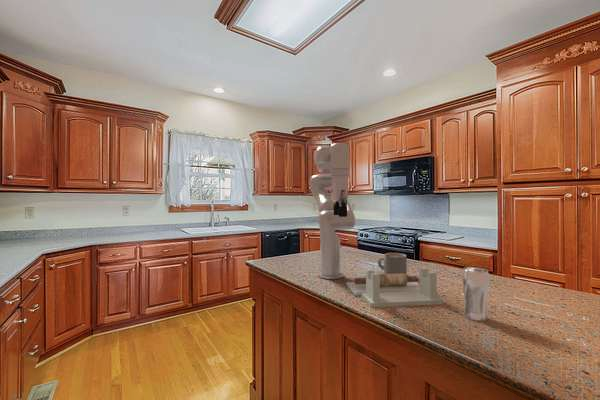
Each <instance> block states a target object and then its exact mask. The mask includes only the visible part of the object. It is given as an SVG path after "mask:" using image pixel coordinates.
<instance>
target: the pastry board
mask: <svg viewBox="0 0 600 400" xmlns="http://www.w3.org/2000/svg"><path fill="white" fill-rule="evenodd" d="M345 285H346V286H347V287H348V289H349V290H350V291H351V292H352V294H353V295H354V296H355V297H359V296H360V297H362V293H366V284H355V282H354V281H346V284H345ZM400 291H419V282H418V281H417V282H407V285H405V286H380V292H400Z"/></svg>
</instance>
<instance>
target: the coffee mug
mask: <svg viewBox="0 0 600 400" xmlns="http://www.w3.org/2000/svg"><path fill="white" fill-rule="evenodd" d="M407 258H408V257H407V254H405V253H400V252H385V253H384V256H380V257H378V260H377V265H378V267H379V268H380V269H381V270H383V271H384V274H403V273H404V274H405V275H406V276H408V275H407V274H408V273H407V271H408V270H407V263H408V262H407ZM382 261H383V265H382Z"/></svg>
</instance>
